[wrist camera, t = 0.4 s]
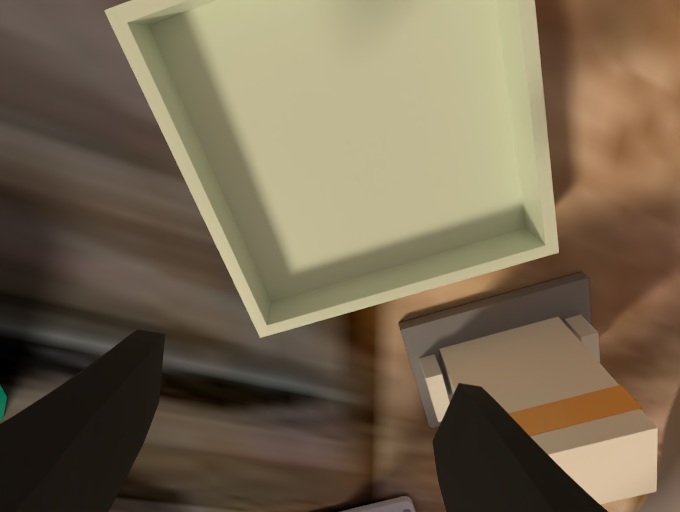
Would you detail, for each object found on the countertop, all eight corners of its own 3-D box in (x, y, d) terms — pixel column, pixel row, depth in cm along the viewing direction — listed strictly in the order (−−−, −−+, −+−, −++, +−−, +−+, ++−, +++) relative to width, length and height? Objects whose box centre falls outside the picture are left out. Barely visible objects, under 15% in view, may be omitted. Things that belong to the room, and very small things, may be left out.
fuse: (564, 370, 23) (657, 491, 17) (451, 399, 24) (500, 528, 17) (559, 315, 22) (659, 426, 15) (437, 348, 22) (486, 468, 16)
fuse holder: (589, 378, 24) (612, 406, 22) (427, 420, 25) (436, 450, 23) (582, 271, 21) (607, 293, 19) (398, 323, 22) (405, 349, 20)
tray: (532, 229, 20) (559, 252, 18) (266, 307, 21) (260, 337, 19) (489, -114, 15) (520, -144, 12) (134, 15, 16) (104, 10, 14)
